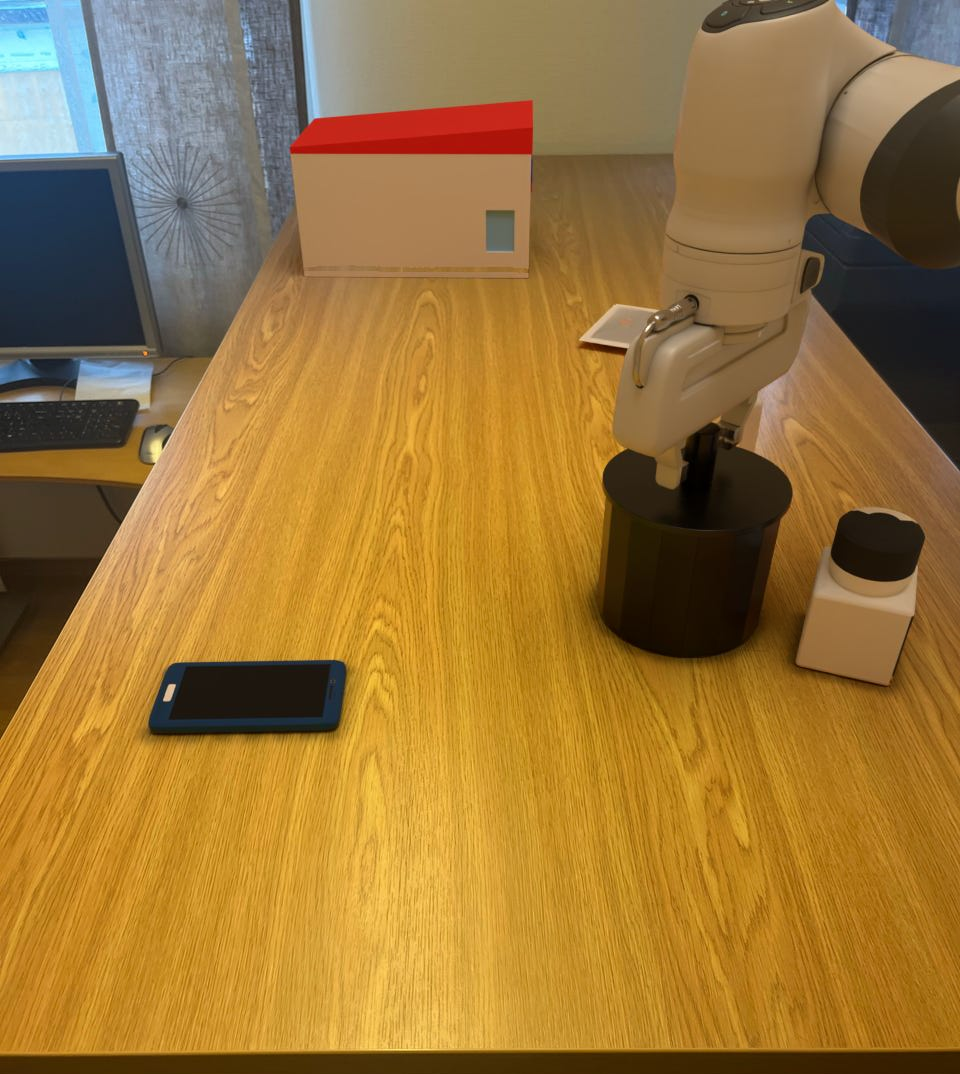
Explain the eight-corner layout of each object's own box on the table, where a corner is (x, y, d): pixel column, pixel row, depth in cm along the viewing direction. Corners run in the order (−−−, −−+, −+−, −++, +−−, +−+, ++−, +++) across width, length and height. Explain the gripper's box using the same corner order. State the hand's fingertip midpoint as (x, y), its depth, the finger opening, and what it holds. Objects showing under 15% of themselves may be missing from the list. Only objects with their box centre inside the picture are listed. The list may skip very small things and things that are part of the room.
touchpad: (577, 348, 128) (578, 332, 126) (614, 311, 138) (615, 296, 137) (635, 357, 125) (636, 341, 124) (668, 319, 136) (670, 303, 134)
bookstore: (530, 278, 150) (534, 127, 137) (304, 276, 151) (287, 126, 138) (530, 238, 166) (534, 100, 153) (326, 237, 167) (312, 99, 154)
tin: (787, 602, 83) (815, 483, 76) (705, 680, 75) (728, 555, 68) (654, 547, 90) (668, 432, 83) (566, 612, 82) (573, 492, 75)
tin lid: (822, 489, 76) (839, 422, 73) (729, 568, 68) (742, 496, 64) (665, 435, 84) (673, 372, 80) (564, 499, 75) (567, 432, 72)
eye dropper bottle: (709, 472, 101) (727, 360, 94) (705, 447, 105) (722, 339, 98) (752, 474, 101) (773, 362, 93) (746, 449, 105) (766, 340, 98)
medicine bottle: (890, 688, 74) (934, 556, 67) (794, 666, 76) (827, 536, 69) (895, 635, 79) (937, 506, 72) (805, 616, 81) (837, 489, 74)
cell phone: (169, 669, 76) (168, 661, 76) (348, 666, 76) (347, 658, 76) (146, 734, 70) (144, 726, 70) (339, 731, 71) (338, 723, 70)
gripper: (684, 334, 58) (659, 533, 66) (836, 253, 70) (798, 430, 78) (597, 310, 61) (584, 502, 70) (757, 236, 73) (729, 408, 82)
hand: (699, 463), depth 74 cm, fingers open, 7 cm apart
